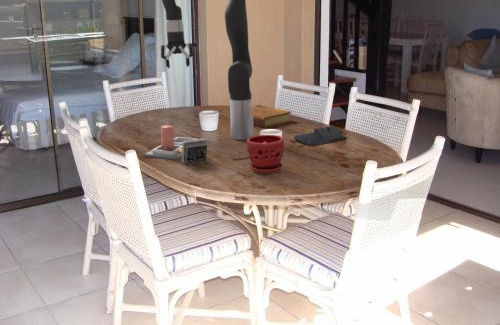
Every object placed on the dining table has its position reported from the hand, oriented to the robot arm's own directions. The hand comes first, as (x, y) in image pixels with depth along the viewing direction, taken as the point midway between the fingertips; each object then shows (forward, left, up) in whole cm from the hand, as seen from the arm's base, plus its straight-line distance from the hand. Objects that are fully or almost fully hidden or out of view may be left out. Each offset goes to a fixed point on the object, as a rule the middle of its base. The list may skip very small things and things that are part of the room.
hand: (178, 67), depth 258 cm
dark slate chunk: (-65, -4, -30) cm, 72 cm away
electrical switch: (-30, +44, -29) cm, 61 cm away
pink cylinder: (-14, +37, -28) cm, 48 cm away
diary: (-29, -28, -30) cm, 50 cm away
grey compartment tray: (-14, +31, -29) cm, 45 cm away
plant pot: (-58, +44, -29) cm, 78 cm away
